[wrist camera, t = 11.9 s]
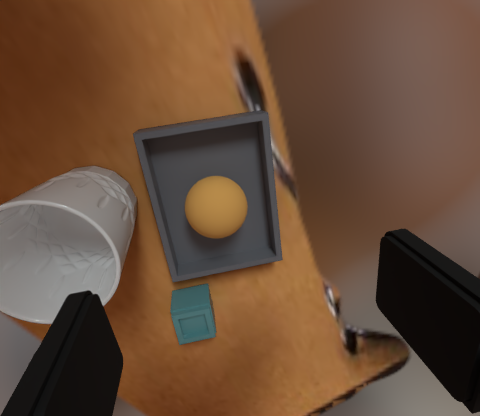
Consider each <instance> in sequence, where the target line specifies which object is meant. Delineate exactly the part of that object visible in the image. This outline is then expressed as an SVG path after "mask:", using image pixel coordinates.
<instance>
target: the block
mask: <svg viewBox="0 0 480 416" xmlns="http://www.w3.org/2000/svg"><path fill="white" fill-rule="evenodd" d="M171 317H172V320H173V324H174V327H175V331H176V334H177V338H178V341H179V345H181V344H186V343H190V342H195V341H199V340H204V339H208V338H213V337H216V335H215V333H216V324H215V314H214V308H213V304H212V299H211V294H210V290H209V285H208V284H203V285H198V286H193V287H189V288H184V289H179V290H174V291H172V300H171Z"/></svg>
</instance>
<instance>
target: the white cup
mask: <svg viewBox="0 0 480 416" xmlns="http://www.w3.org/2000/svg"><path fill="white" fill-rule="evenodd" d="M136 216H137V198H136V196H135V194H134V192H133V190H132V188H131V186H130V184H129V183H128V182H127V181H126V180H124V179H123V178H122V177H121V176H119V175H118V174H117V173H116V172H114V171H112V170H108V169H105V168H101V167H98V166H87V167H79V168H74V169H72V170H70V171H69V172H67V173H65V174H62V175H59V176H56V177H54V178H52V179H50V180H48V181H46V182H43V183H41V184H39V185H37V186H35V187H33V188H32V189H30V190H28V191H26V192H24V193H22V194H20V195H18V196H16V197H15V198H13V199H11V200H9V201H7V202H5V203H3V204H1V205H0V311H1V312H3V313H5V314H7V315H9V316H12V317H14V318H17V319H20V320H24V321H28V322H33V323H39V324H52V323H53V321H54V319H55V317H56V315H57V314H58V312H59V310H60V308H61V306H62V305H63V303H64V301H65V299H66V297H67V296H68V295H69V294H72V293H77V292H82V291H87V290H89V291H91V292H92V293H93V294H98V295H99V297H100V300H101V302H102V305H103V306H104V305H105V304H106V303H107V302H108V301H109V300H110V299H111V298H112V296H113V295H114V293H115V291H116V289H117V287H118V284H119V281H120V277H121V274H122V270H123V267H124V263H125V260H126V256H127V253H128V249H129V246H130V243H131V238H132V234H133V230H134V225H135V220H136Z"/></svg>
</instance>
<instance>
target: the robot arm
mask: <svg viewBox="0 0 480 416" xmlns="http://www.w3.org/2000/svg"><path fill="white" fill-rule="evenodd" d="M376 303H377V306H378V308H379V309H380V311H381V312H382V313H383V314H384V316H385V317H386V318H387V319H388V320H389V321H390V323H391V324H392V325H393V326H394V327H395V329H396V330H397V331H398V332H399V333H400V335H401V336H402V337H403V338H404V340H405V341H406V342H407V343H408V344H409V345H410V347H411V348H412V349H413V350H414V351H415V353H416V354H417V355H418V356H419V357H420V359H421V360H422V361H423V362H424V363H425V365H426V366H427V367H428V368H429V369H430V370H431V372H432V373H433V374H434V375H435V376H436V378H437V379H438V380H439V381H440V382H441V384H442V385H443V386H444V387H445V388H446V390H447V391H448V392H449V393H450V394H451V396H452V397H454V399H456V400H457V401H459V402H463V404H464V405H465V406H466V407H467V408H468V410H469V411H470V412H471V413H476V412H480V279H479V278H477V277H476V276H474V275H473V274H471V273H470V272H468V271H467V270H465V269H464V268H462V267H461V266H459V265H458V264H457V263H455V262H454V261H452V260H450V259H449V258H448V257H446V256H445V255H443V254H442V253H440V252H439V251H437V250H436V249H435V248H433V247H432V246H430V245H429V244H427V243H426V242H424V241H423V240H421V239H420V238H418V237H417V236H416V235H414V234H412V233H411V232H409V231H408V230H406V229H399V230H394V231H389V232H386V234H385V236H384V237H382V239H381V242H380V254H379V267H378V279H377V291H376ZM122 369H123V356H122V353H121V350H120V348H119V345H118V343H117V340H116V338H115V335H114V333H113V330H112V328H111V325H110V323H109V320H108V317H107V315H106V312H105V310H104V307H103V305H102V302H101V300H100V297H99V295H98V294H93V293H92V292H91V291H89V290H87V291H82V292H77V293H72V294H69V295H68V296H67V297H66V299H65V301H64V303H63V305H62V306H61V308H60V310H59V312H58V314H57V315H56V317H55V319H54V321H53V323H52V325H51V326H50V328H49V330H48V332H47V334H46V336H45V337H44V339H43V341H42V343H41V345H40V347H39V348H38V350H37V351H36V353H35V354H34V356H33V358H32V360H31V362H30V363H29V365H28V367H27V369H26V371H25V372H24V374H23V376H22V378H21V380H20V382H19V383H18V385H17V387H16V389H15V391H14V392H13V394H12V396H11V398H10V400H9V401H8V403H7V405H6V407H5V409H4V410H3V413H2V414H1V416H112V414H113V410H114V405H115V400H116V396H117V391H118V387H119V382H120V378H121V373H122Z"/></svg>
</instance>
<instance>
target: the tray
mask: <svg viewBox="0 0 480 416" xmlns="http://www.w3.org/2000/svg"><path fill="white" fill-rule="evenodd" d="M133 136H134V140H135V144H136V148H137V151H138V155H139V159H140V162H141V166H142V170H143V173H144V177H145V181H146V185H147V188H148V192H149V196H150V199H151V203H152V207H153V210H154V214H155V218H156V222H157V225H158V229H159V233H160V236H161V240H162V244H163V247H164V251H165V255H166V259H167V262H168V266H169V270H170V273H171V277H172V281H173V282H177V281H182V280H187V279H192V278H197V277H202V276H207V275H211V274H216V273H221V272H226V271H231V270H236V269H241V268H246V267H251V266H256V265H260V264H265V263H270V262H275V261H280V260H282V251H281V241H280V230H279V220H278V210H277V200H276V189H275V179H274V169H273V159H272V148H271V138H270V128H269V118H268V112H265V111H261V110H259V111H253V112H247V113H240V114H234V115H228V116H221V117H215V118H209V119H203V120H196V121H190V122H184V123H177V124H171V125H165V126H158V127H152V128H146V129H140V130H138V131H136V132H135V133H134V134H133ZM210 176H223V177H226V178H229V179H231V180H232V181H234V182H235V183H237V184H238V185H239V186H240V187H241V189H242V190H243V192H244V194H245V196H246V199H247V206H248V208H247V215H246V218H245V221H244V222H243V224H242V226H241V227H240V228H239V229H238V230H237V231H236V232H235V233H233V234H231V235H230V236H227V237H224V238H208V237H205V236H203V235H201V234H199V233H198V232H196V231H195V230H194V229H193V228H192V227H191V225H190V224H189V222H188V220H187V218H186V215H185V200H186V197H187V194H188V192H189V190H190V189H191V188H192V187H193V185H194V184H196V183H197V182H198V181H199V180H201V179H203V178H206V177H210Z"/></svg>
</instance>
